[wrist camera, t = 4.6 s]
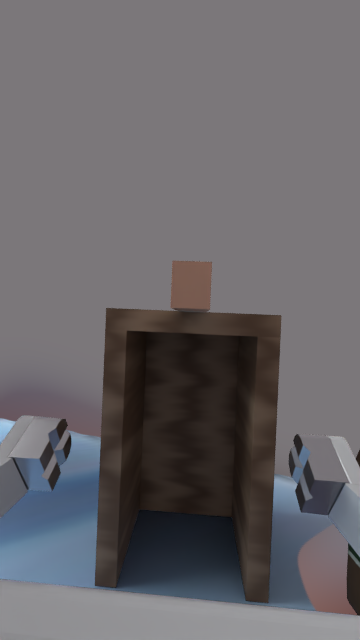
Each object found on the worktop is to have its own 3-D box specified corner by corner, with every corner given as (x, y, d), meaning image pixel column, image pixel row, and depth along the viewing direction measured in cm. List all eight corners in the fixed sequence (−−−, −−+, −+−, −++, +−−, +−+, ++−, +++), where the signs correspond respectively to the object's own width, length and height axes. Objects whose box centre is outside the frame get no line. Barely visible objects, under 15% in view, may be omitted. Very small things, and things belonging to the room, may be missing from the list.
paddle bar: (170, 307, 18) (172, 260, 18) (184, 313, 38) (185, 291, 38) (209, 309, 18) (211, 262, 18) (203, 314, 38) (204, 291, 38)
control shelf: (94, 585, 27) (106, 308, 27) (128, 498, 40) (136, 311, 40) (268, 602, 26) (281, 315, 26) (244, 508, 39) (253, 316, 39)
